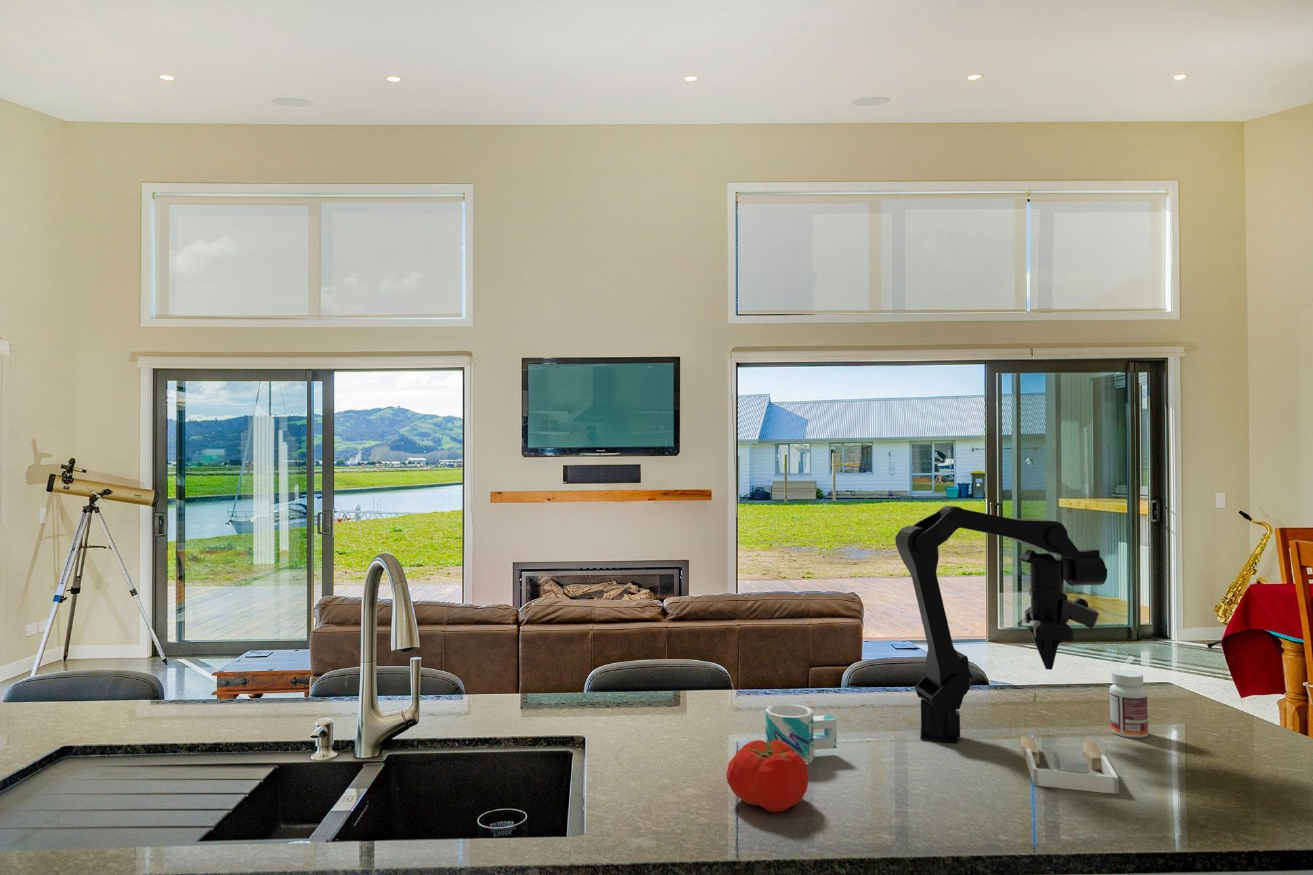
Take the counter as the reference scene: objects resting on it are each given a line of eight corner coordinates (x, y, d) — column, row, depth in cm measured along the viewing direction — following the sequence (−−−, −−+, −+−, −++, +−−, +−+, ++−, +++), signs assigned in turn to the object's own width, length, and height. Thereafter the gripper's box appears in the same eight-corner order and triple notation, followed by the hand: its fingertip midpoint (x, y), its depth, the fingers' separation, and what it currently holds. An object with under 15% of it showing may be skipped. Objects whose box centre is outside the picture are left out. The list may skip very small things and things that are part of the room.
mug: (761, 751, 147) (760, 704, 148) (825, 747, 149) (824, 700, 150) (775, 768, 139) (774, 718, 140) (842, 763, 141) (842, 714, 141)
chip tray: (1033, 785, 131) (1033, 769, 131) (1026, 763, 140) (1026, 748, 140) (1118, 794, 127) (1118, 777, 127) (1105, 770, 137) (1105, 755, 137)
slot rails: (1026, 763, 140) (1026, 751, 140) (1021, 747, 148) (1021, 736, 148) (1105, 770, 137) (1105, 758, 137) (1096, 754, 144) (1095, 742, 144)
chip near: (1060, 787, 130) (1060, 761, 130) (1056, 777, 134) (1056, 752, 134) (1088, 789, 129) (1088, 764, 129) (1084, 780, 133) (1083, 755, 133)
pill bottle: (1154, 734, 154) (1153, 673, 154) (1137, 741, 151) (1136, 678, 151) (1121, 726, 159) (1119, 667, 160) (1103, 732, 156) (1102, 671, 156)
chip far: (1057, 777, 134) (1056, 752, 134) (1053, 768, 138) (1052, 744, 138) (1084, 780, 133) (1083, 755, 133) (1079, 771, 137) (1079, 747, 137)
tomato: (724, 786, 132) (723, 732, 132) (803, 787, 131) (802, 732, 131) (729, 821, 119) (728, 761, 119) (815, 821, 118) (815, 761, 119)
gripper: (1104, 595, 145) (1106, 685, 145) (1085, 580, 163) (1087, 660, 162) (1035, 593, 148) (1037, 680, 148) (1023, 578, 166) (1025, 656, 166)
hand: (1048, 669), depth 156 cm, fingers closed
